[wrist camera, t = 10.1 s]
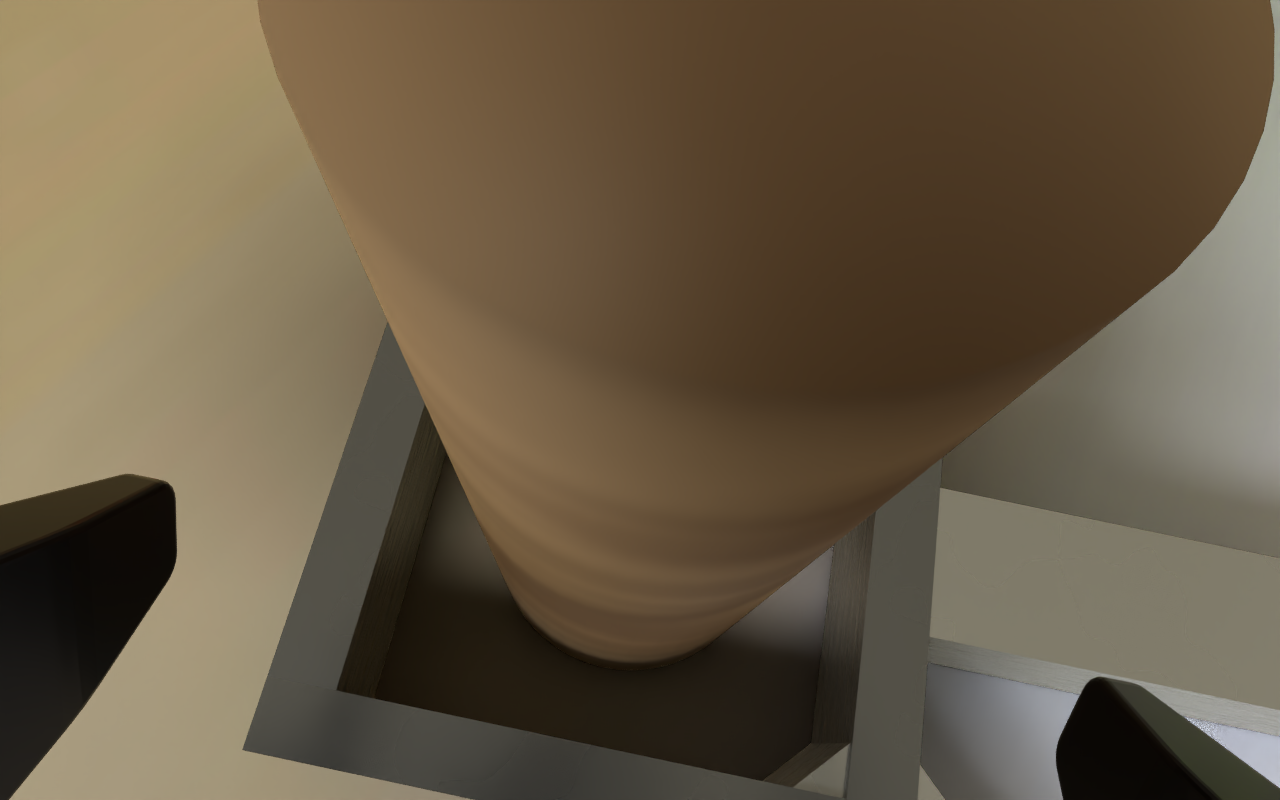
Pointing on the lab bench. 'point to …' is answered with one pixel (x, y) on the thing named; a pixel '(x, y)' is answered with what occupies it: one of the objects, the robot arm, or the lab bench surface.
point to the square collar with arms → (851, 650)
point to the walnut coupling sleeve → (749, 253)
